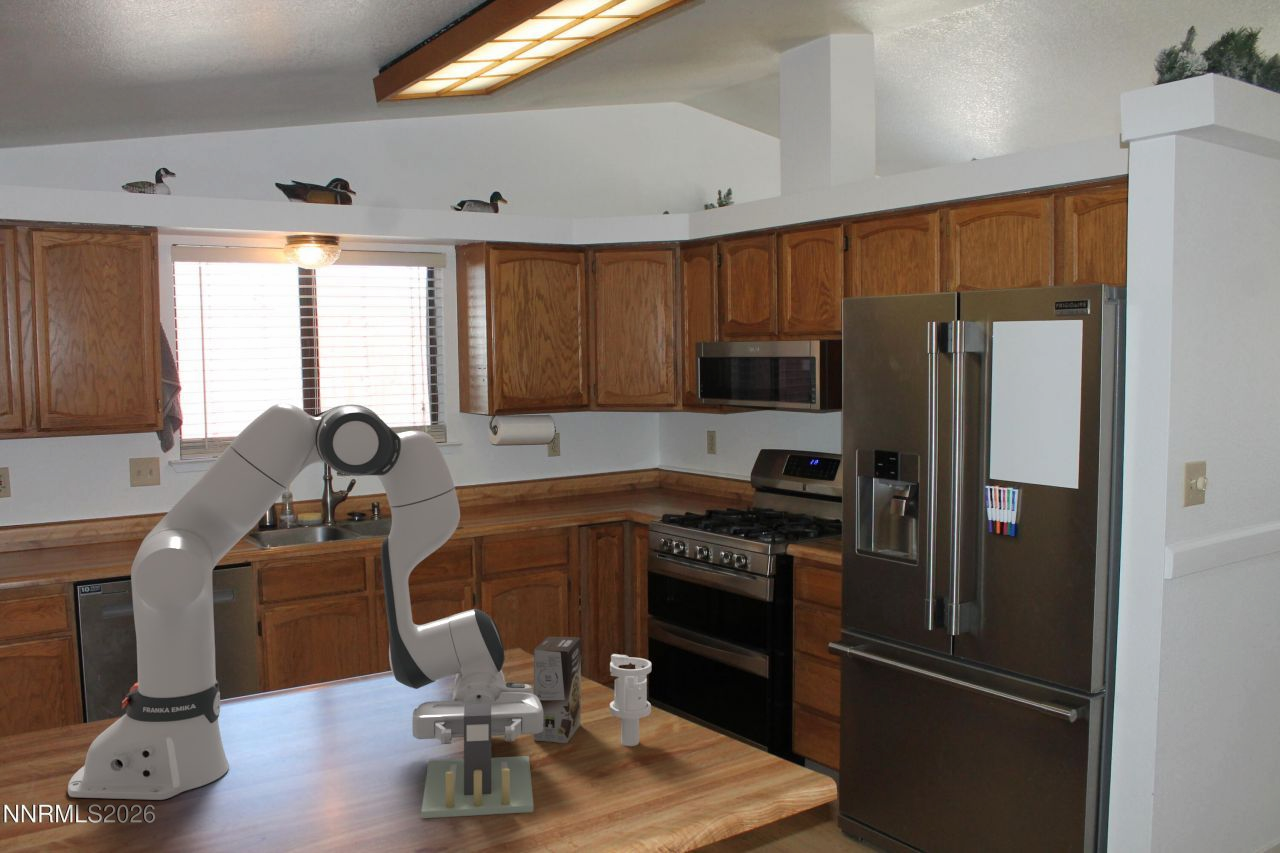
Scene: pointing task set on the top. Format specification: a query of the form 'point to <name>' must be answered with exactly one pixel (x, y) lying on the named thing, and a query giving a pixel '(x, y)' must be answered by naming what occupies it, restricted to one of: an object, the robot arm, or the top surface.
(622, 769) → the top surface
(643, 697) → the white plastic cylinder
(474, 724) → the block
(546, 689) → the coffee box
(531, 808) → the pinboard
